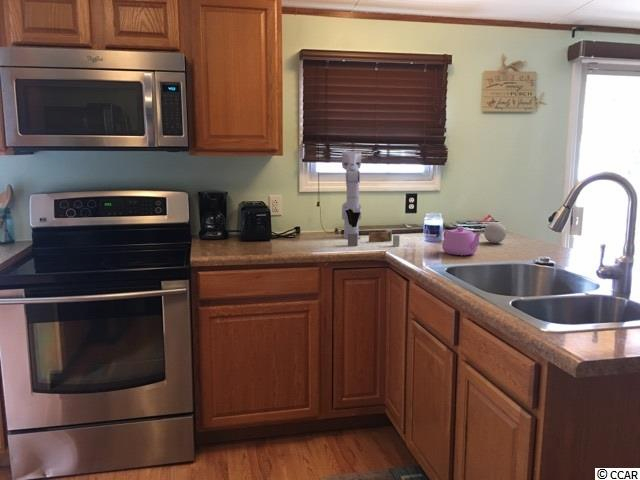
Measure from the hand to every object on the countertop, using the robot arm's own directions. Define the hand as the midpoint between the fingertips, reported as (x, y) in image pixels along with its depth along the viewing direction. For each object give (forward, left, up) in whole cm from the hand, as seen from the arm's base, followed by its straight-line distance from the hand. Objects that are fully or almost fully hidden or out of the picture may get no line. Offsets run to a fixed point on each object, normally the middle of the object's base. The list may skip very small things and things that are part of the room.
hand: (352, 225), depth 240 cm
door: (-8, +15, -9) cm, 19 cm away
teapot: (+27, +43, -10) cm, 52 cm away
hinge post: (-10, +20, -9) cm, 24 cm away
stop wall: (+4, +20, -9) cm, 22 cm away
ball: (+5, +68, -10) cm, 69 cm away
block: (0, 0, -10) cm, 10 cm away
